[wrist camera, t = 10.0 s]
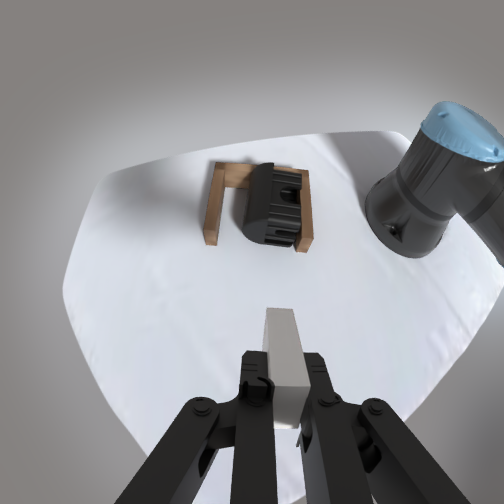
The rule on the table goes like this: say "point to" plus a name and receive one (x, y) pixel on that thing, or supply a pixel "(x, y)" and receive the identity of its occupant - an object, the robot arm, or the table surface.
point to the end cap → (272, 206)
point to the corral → (240, 178)
